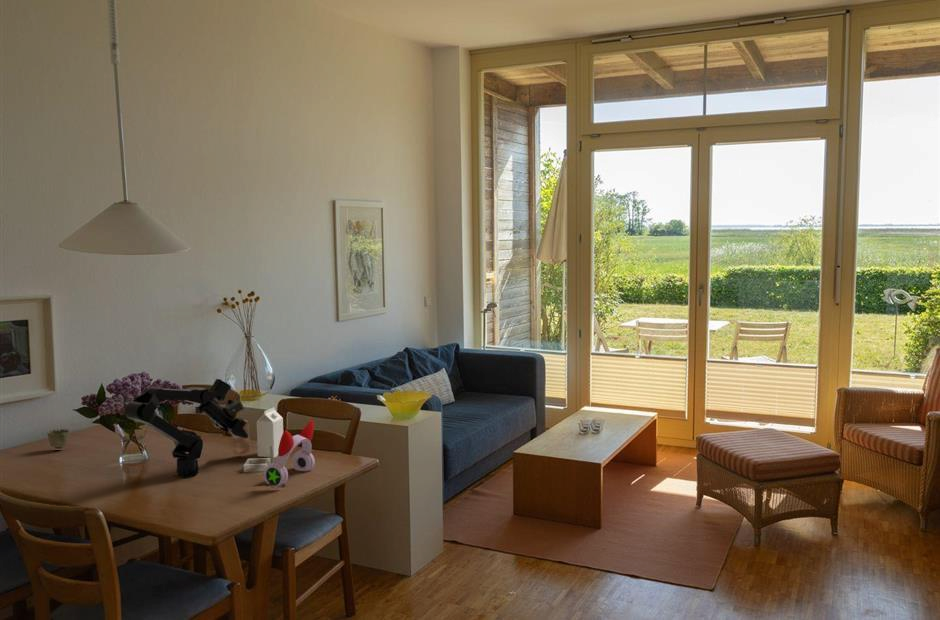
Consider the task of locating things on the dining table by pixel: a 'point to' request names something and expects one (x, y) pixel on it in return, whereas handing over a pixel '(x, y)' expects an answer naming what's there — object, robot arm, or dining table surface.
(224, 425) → the robot arm
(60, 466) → the dining table surface
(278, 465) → the headphones
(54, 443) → the cup
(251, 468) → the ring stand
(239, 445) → the peg
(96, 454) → the dining table surface
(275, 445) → the milk carton
